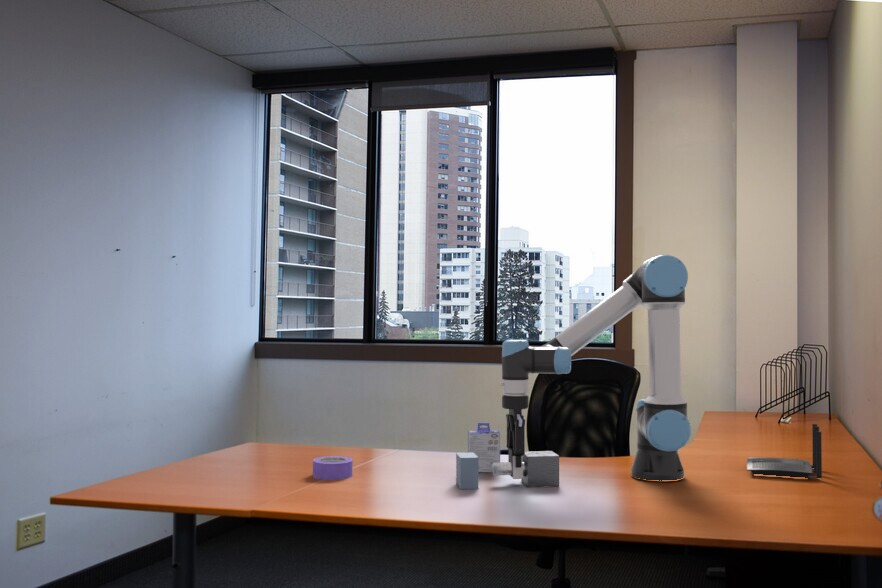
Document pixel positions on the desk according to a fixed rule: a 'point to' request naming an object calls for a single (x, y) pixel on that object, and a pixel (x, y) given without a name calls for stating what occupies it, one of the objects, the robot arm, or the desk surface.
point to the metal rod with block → (506, 466)
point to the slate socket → (467, 470)
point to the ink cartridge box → (485, 446)
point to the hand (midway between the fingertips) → (515, 476)
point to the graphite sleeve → (541, 469)
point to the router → (790, 462)
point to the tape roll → (332, 468)
